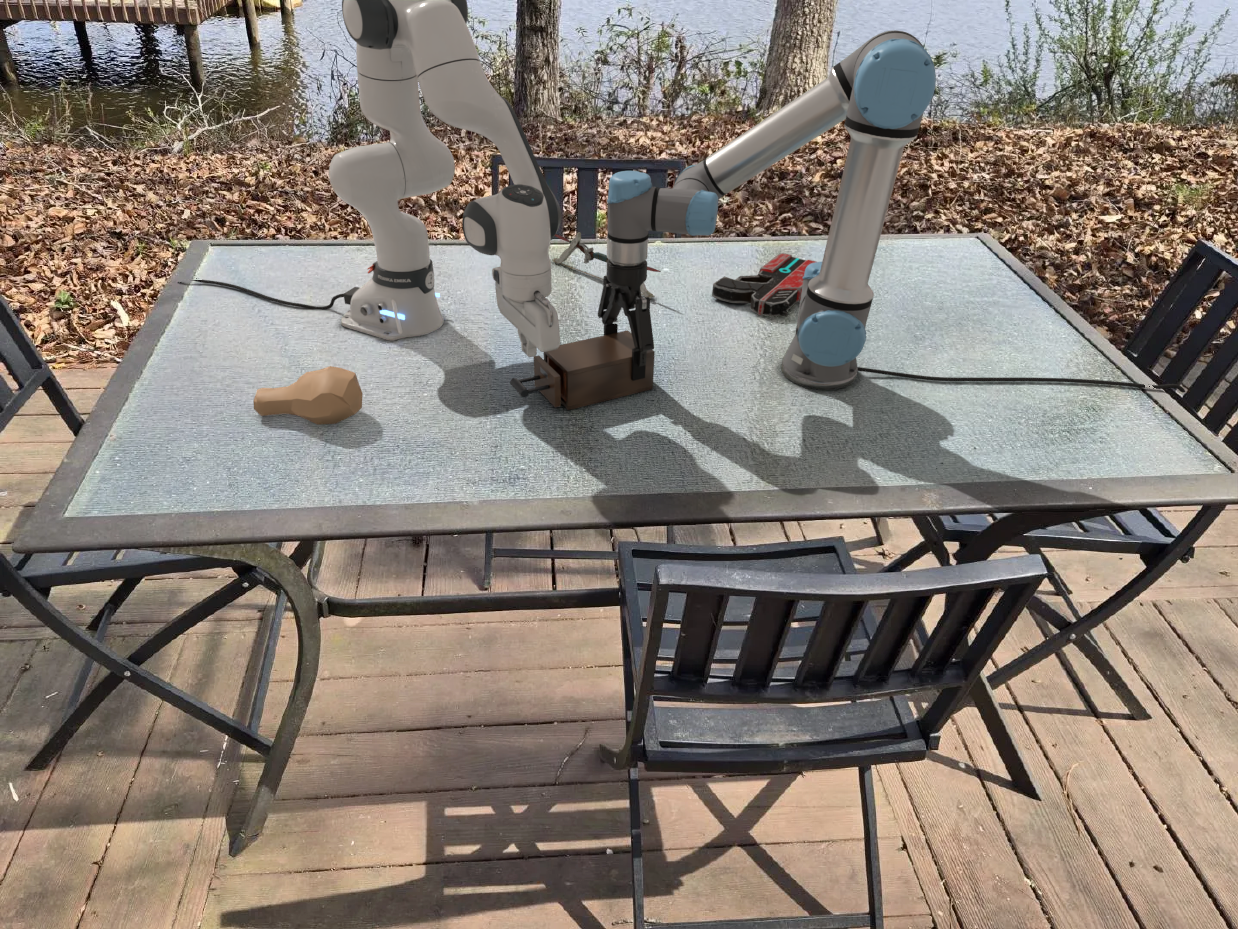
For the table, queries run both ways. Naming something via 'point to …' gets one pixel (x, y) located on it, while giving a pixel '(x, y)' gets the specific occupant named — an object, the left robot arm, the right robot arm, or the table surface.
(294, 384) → the squash
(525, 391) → the drawer
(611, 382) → the cabinet
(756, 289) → the gun
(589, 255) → the bow
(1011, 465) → the table surface
